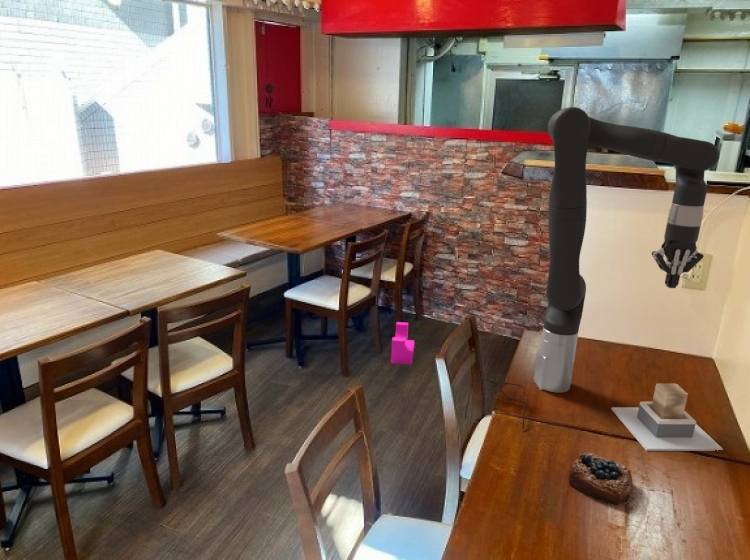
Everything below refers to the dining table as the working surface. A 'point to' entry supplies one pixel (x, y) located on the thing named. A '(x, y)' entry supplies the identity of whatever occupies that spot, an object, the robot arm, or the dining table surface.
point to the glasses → (502, 392)
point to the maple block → (669, 401)
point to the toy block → (402, 345)
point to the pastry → (601, 478)
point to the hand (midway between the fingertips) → (670, 287)
